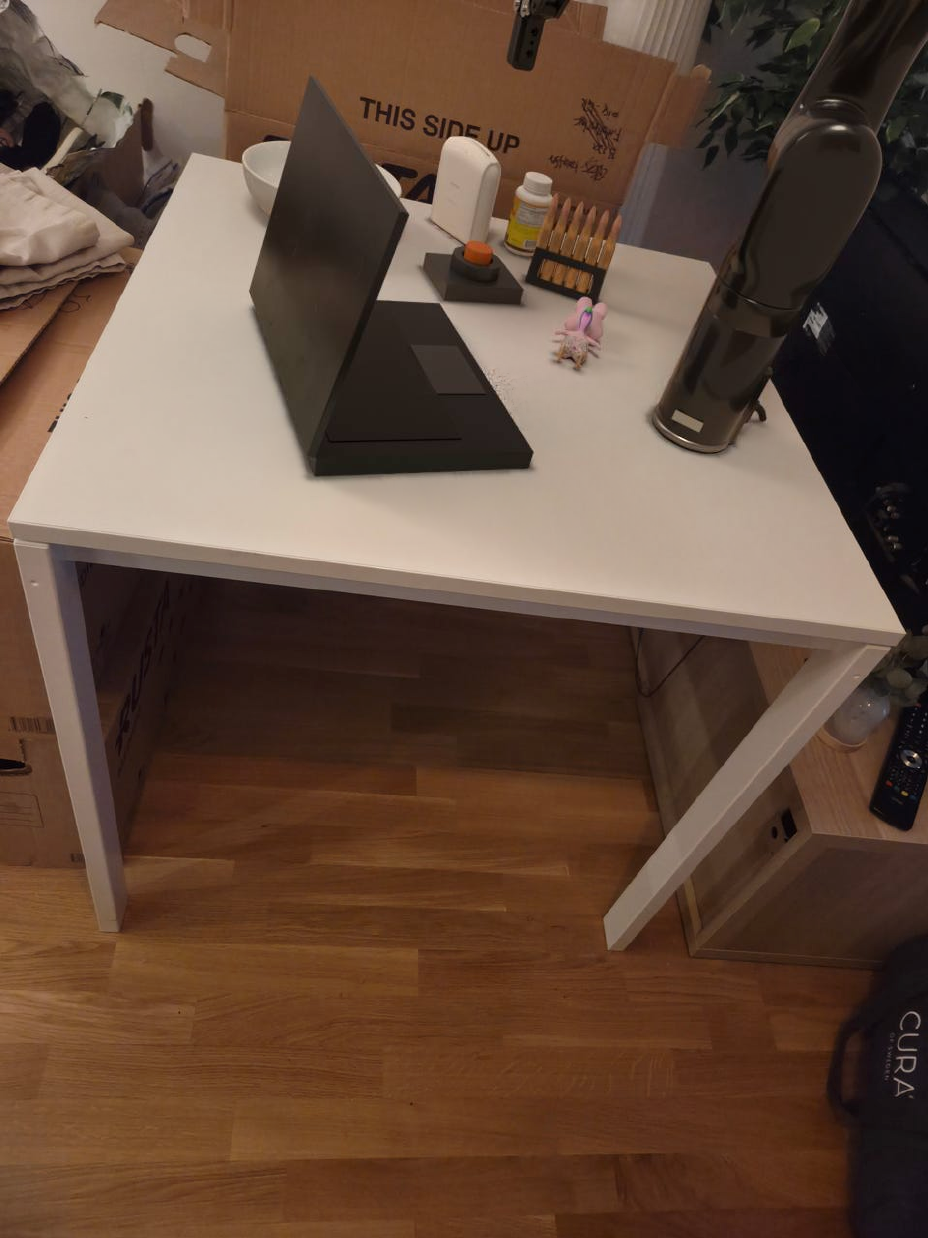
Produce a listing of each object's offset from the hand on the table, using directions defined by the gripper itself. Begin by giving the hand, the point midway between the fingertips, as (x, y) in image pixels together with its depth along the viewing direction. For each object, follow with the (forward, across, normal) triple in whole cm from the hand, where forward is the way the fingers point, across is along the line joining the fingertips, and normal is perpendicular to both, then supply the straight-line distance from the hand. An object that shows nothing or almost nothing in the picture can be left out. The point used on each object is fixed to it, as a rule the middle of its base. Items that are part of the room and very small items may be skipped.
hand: (518, 66), depth 71 cm
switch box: (+29, +18, -9) cm, 35 cm away
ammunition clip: (+29, +18, -23) cm, 41 cm away
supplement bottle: (+29, +31, -22) cm, 48 cm away
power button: (+25, +18, -9) cm, 32 cm away
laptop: (+29, -6, +10) cm, 31 cm away
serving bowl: (+29, +34, +8) cm, 46 cm away
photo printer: (+29, +35, -13) cm, 47 cm away
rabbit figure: (+29, +4, -19) cm, 35 cm away
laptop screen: (+16, -6, +18) cm, 25 cm away
